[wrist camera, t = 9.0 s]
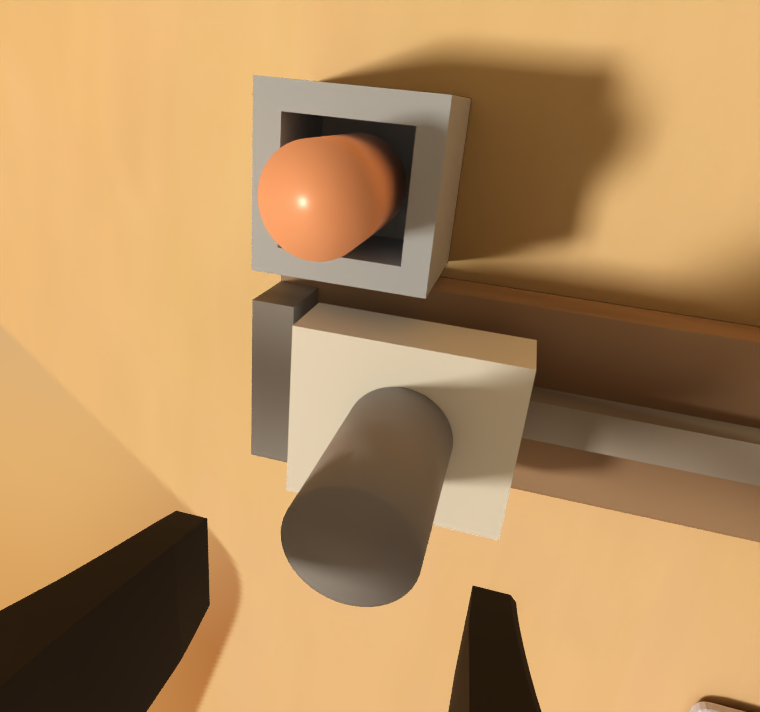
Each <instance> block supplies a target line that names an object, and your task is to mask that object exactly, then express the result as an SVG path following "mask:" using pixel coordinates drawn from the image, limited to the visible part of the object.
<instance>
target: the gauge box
mask: <svg viewBox="0 0 760 712" xmlns="http://www.w3.org/2000/svg"><path fill="white" fill-rule="evenodd" d="M470 104H471V98H466V97H460V96H455V95H449V94H438V93H428V92H418V91H408V90H398V89H388V88H378V87H368V86H358V85H348V84H338V83H328V82H318V81H308V80H298V79H288V78H278V77H268V76H258V75H253V177H252V270H254V271H260V272H266V273H273V274H279V275H285V276H291V277H297V278H303V279H309V280H315V281H321V282H327V283H333V284H339V285H345V286H351V287H357V288H363V289H369V290H375V291H381V292H388V293H394V294H400V295H406V296H412V297H418V298H424V299H426V297H427V296H428V294H429V292H430V291H431V289H432V287H433V286H434V284H435V282H436V281H437V279H438V278H439V276H440V274H441V273H442V271H443V269H444V268H445V266H446V264H447V263H448V259H449V252H450V245H451V238H452V231H453V224H454V217H455V210H456V203H457V196H458V189H459V182H460V175H461V167H462V160H463V153H464V146H465V139H466V132H467V125H468V118H469V111H470ZM348 133H367V134H371V135H374V136H377V137H379V138H381V139H382V140H384V141H385V142H387V143H388V144H389V145H390V146H391V147H392V148H393V149H394V150H395V151H396V153H397V154H398V156H399V157H400V159H401V161H402V163H403V166H404V169H405V173H406V180H407V190H406V196H405V199H404V203H403V205H402V207H401V209H400V211H399V212H398V214H397V215H396V216H395V218H394V219H393V220H392V221H391V222H389V223H388V224H387V225H385V226H384V227H383V228H381V229H380V230H379V231H377V232H376V233H375V234H373V235H372V236H370V237H369V238H368V239H366V240H365V241H364V242H362V243H361V244H360V245H358V246H357V247H356V248H354V249H353V250H351V251H350V252H349V253H347V254H346V255H344V256H342V257H340V258H337V259H335V260H331V261H326V262H314V261H307V260H303V259H301V258H298V257H296V256H294V255H292V254H290V253H288V252H287V251H286V250H284V249H283V248H282V247H281V246H279V245H278V244H277V243H276V241H275V240H274V239H273V238H272V237H271V235H270V234H269V232H268V231H267V229H266V227H265V225H264V223H263V220H262V218H261V215H260V211H259V206H258V185H259V180H260V176H261V173H262V171H263V169H264V167H265V164H266V163H267V161H268V160H269V158H270V157H271V156H272V155H273V154H274V153H275V152H276V151H277V150H278V149H279V148H281V147H282V146H284V145H286V144H287V143H290V142H292V141H295V140H299V139H304V138H313V137H322V136H331V135H339V134H348Z"/></svg>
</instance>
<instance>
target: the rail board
mask: <svg viewBox="0 0 760 712" xmlns="http://www.w3.org/2000/svg"><path fill="white" fill-rule="evenodd" d="M318 303H324V304H330V305H336V306H342V307H347V308H353V309H359V310H365V311H371V312H376V313H382V314H388V315H394V316H400V317H406V318H411V319H417V320H423V321H429V322H435V323H440V324H446V325H452V326H458V327H464V328H469V329H475V330H481V331H487V332H493V333H498V334H504V335H510V336H516V337H522V338H527V339H533V340H537V361H536V374H535V378H534V383H533V388H532V392H531V397H530V401H529V406H528V410H527V415H526V420H525V424H524V429H523V433H522V438H521V442H520V447H519V451H518V456H517V461H516V465H515V470H514V474H513V479H512V483H511V488H514V489H519V490H523V491H528V492H533V493H537V494H542V495H546V496H551V497H555V498H560V499H564V500H569V501H574V502H578V503H583V504H587V505H592V506H596V507H601V508H605V509H610V510H615V511H619V512H624V513H628V514H633V515H637V516H642V517H647V518H651V519H656V520H660V521H665V522H669V523H674V524H678V525H683V526H688V527H692V528H697V529H701V530H706V531H710V532H715V533H720V534H724V535H729V536H733V537H738V538H742V539H747V540H751V541H756V542H760V327H756V326H749V325H743V324H736V323H730V322H724V321H717V320H711V319H705V318H698V317H692V316H686V315H679V314H673V313H667V312H660V311H654V310H648V309H641V308H635V307H629V306H622V305H616V304H610V303H603V302H597V301H590V300H584V299H578V298H571V297H565V296H559V295H552V294H546V293H540V292H533V291H527V290H521V289H514V288H508V287H502V286H495V285H489V284H483V283H476V282H470V281H464V280H457V279H451V278H444V277H439V278H438V279H437V281H436V282H435V284H434V286H433V287H432V289H431V291H430V292H429V294H428V296H427V297H426V299H424V298H418V297H412V296H406V295H400V294H394V293H388V292H381V291H375V290H369V289H363V288H357V287H351V286H345V285H339V284H333V283H327V282H321V281H315V280H309V279H303V278H297V277H291V276H285V275H281V282H279V283H278V284H276V285H275V286H273V287H272V288H270V289H269V290H267V291H266V292H264V293H263V294H261V295H259V296H258V297H256V298H255V299H253V319H252V436H251V454H252V455H257V456H261V457H266V458H270V459H274V460H279V461H283V462H287V458H288V431H289V404H290V377H291V350H292V326H293V325H294V324H295V323H296V322H297V321H298V320H300V319H301V318H302V317H303V316H304V315H305V314H306V313H308V312H309V311H310V310H311V309H312V308H313V307H315V306H316V305H317V304H318Z"/></svg>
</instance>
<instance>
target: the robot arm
mask: <svg viewBox="0 0 760 712" xmlns="http://www.w3.org/2000/svg"><path fill="white" fill-rule="evenodd" d="M208 567H209V565H208V529H207V518H203V517H199V516H195V515H191V514H187V513H183V512H179V511H175V512H173V513H172V514H170V515H168V516H166V517H165V518H163V519H161V520H159V521H158V522H156V523H154V524H152V525H151V526H149V527H147V528H146V529H144V530H142V531H141V532H139V533H137V534H136V535H134V536H132V537H131V538H129V539H127V540H126V541H124V542H122V543H121V544H119V545H118V546H116V547H114V548H112V549H111V550H109V551H107V552H105V553H104V554H102V555H101V556H99V557H97V558H95V559H93V560H92V561H90V562H88V563H87V564H85V565H83V566H81V567H80V568H78V569H76V570H75V571H73V572H71V573H69V574H68V575H66V576H64V577H63V578H61V579H59V580H57V581H55V582H53V583H51V584H50V585H48V586H46V587H44V588H42V589H40V590H38V591H36V592H35V593H33V594H31V595H29V596H27V597H25V598H23V599H21V600H20V601H18V602H16V603H14V604H12V605H10V606H8V607H6V608H5V609H3V610H1V611H0V712H146V711H147V710H148V709H149V707H150V705H151V704H152V703H153V701H154V700H155V698H156V696H157V695H158V694H159V692H160V691H161V689H162V688H163V686H164V685H165V683H166V682H167V680H168V679H169V677H170V676H171V674H172V673H173V671H174V670H175V668H176V667H177V665H178V664H179V662H180V661H181V659H182V657H183V655H184V653H185V651H186V650H187V648H188V646H189V644H190V642H191V640H192V638H193V637H194V635H195V633H196V631H197V629H198V627H199V625H200V623H201V621H202V619H203V617H204V615H205V613H206V611H207V609H208V607H209V605H210V602H209V568H208ZM449 712H541V709H540V706H539V703H538V699H537V696H536V693H535V689H534V686H533V682H532V679H531V675H530V671H529V667H528V663H527V659H526V655H525V651H524V647H523V642H522V638H521V633H520V627H519V622H518V615H517V608H516V602H515V600H514V599H513V598H512V596H511V595H508V594H504V593H500V592H496V591H492V590H488V589H484V588H480V587H476V586H473V587H472V592H471V597H470V602H469V606H468V611H467V616H466V621H465V626H464V631H463V636H462V641H461V646H460V650H459V655H458V660H457V665H456V670H455V675H454V681H453V687H452V694H451V700H450V706H449ZM690 712H745V711H741V710H737V709H734V708H730V707H726V706H722V705H719V704H715V703H711V702H706V701H703V702H698V703H696V704H694V705H693V706H692V708H691V710H690Z"/></svg>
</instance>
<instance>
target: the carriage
mask: <svg viewBox="0 0 760 712" xmlns="http://www.w3.org/2000/svg"><path fill="white" fill-rule="evenodd" d="M536 361H537V340H533V339H527V338H522V337H516V336H510V335H504V334H498V333H493V332H487V331H481V330H475V329H469V328H464V327H458V326H452V325H446V324H440V323H435V322H429V321H423V320H417V319H411V318H406V317H400V316H394V315H388V314H382V313H376V312H371V311H365V310H359V309H353V308H347V307H342V306H336V305H330V304H324V303H318V304H317V305H316V306H315V307H313V308H312V309H311V310H310V311H309V312H308V313H306V314H305V315H304V316H303V317H302V318H301V319H300V320H298V321H297V322H296V323H295V324H294V325H293V326H292V350H291V377H290V404H289V431H288V458H287V484H286V490H287V491H291V492H295V493H298V494H297V496H296V497H295V499H294V500H293V502H292V504H291V505H290V507H289V508H288V510H287V512H286V514H285V516H284V518H283V522H282V526H281V541H282V546H283V550H284V553H285V555H286V557H287V559H288V562H289V563H290V565H291V566H292V568H293V569H294V571H295V572H296V573H297V574H298V576H299V577H300V578H301V579H302V580H303V581H304V582H305V583H306V584H308V585H309V586H310V587H311V588H313V589H314V590H316V591H317V592H318V593H320V594H322V595H324V596H326V597H327V598H330V599H332V600H334V601H337V602H340V603H343V604H347V605H352V606H359V607H374V606H381V605H385V604H389V603H391V602H394V601H396V600H398V599H400V598H401V597H403V596H404V595H405V594H407V593H408V592H409V591H410V590H411V589H412V588H413V586H414V585H415V583H416V582H417V579H418V577H419V575H420V571H421V567H422V564H423V560H424V556H425V552H426V548H427V544H428V540H429V537H430V533H431V529H432V525H435V526H439V527H443V528H447V529H452V530H456V531H460V532H464V533H468V534H473V535H477V536H481V537H485V538H490V539H494V540H498V541H499V538H500V534H501V529H502V524H503V520H504V515H505V511H506V506H507V502H508V497H509V493H510V488H511V483H512V479H513V474H514V470H515V465H516V461H517V456H518V451H519V447H520V442H521V438H522V433H523V429H524V424H525V420H526V415H527V410H528V406H529V401H530V397H531V392H532V388H533V383H534V378H535V374H536Z"/></svg>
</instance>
